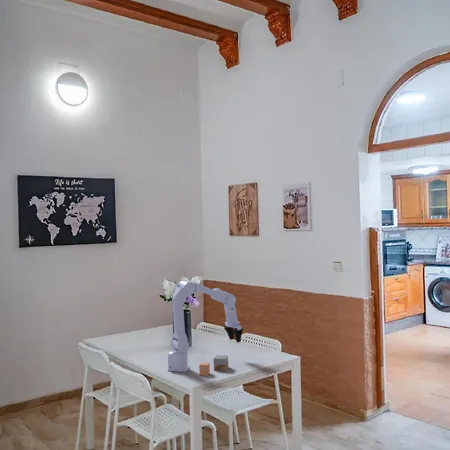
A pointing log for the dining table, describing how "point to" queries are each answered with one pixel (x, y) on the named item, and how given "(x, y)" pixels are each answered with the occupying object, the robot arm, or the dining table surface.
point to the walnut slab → (221, 367)
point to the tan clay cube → (204, 369)
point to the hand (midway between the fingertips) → (235, 340)
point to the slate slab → (220, 360)
